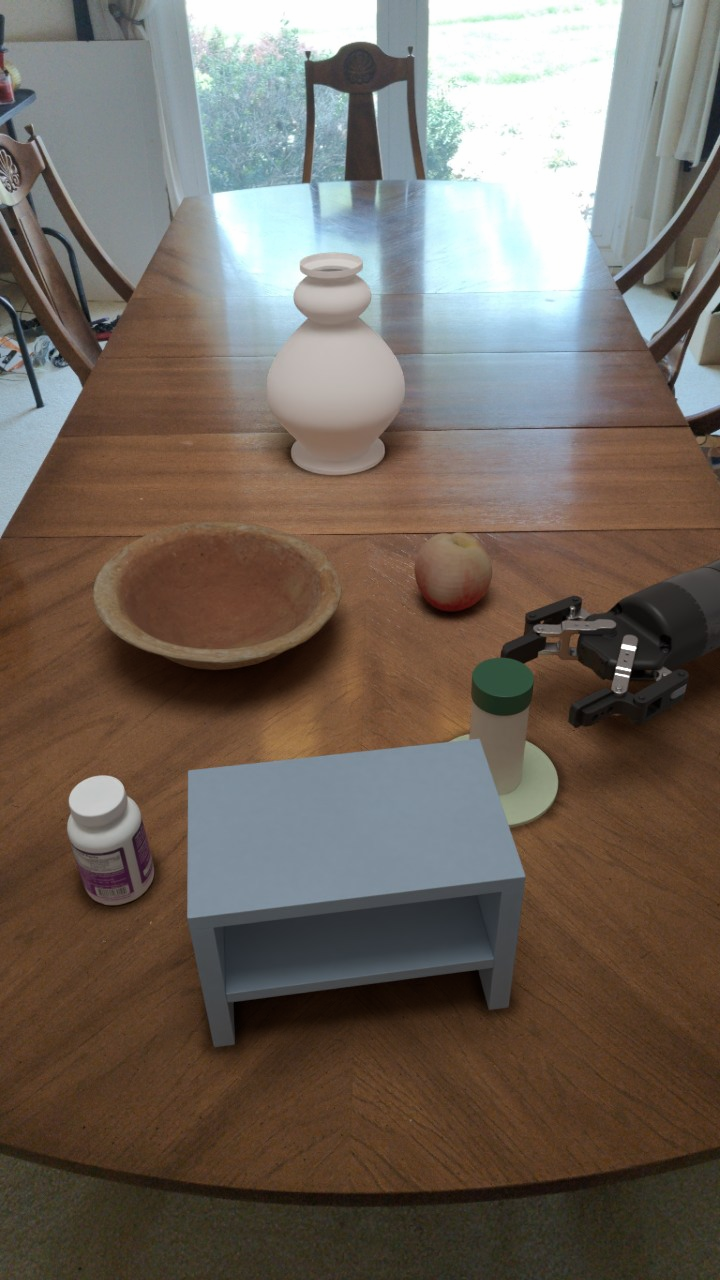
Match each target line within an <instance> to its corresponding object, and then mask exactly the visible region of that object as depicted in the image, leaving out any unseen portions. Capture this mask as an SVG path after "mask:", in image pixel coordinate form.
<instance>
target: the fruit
mask: <svg viewBox="0 0 720 1280" xmlns="http://www.w3.org/2000/svg"><path fill="white" fill-rule="evenodd" d="M414 562H415V563H414V577H415V582H416V584H417V588H418V589H419V592H420V593H421V595H422V597H424V599H425V600H426V601H427V602H428V603H429V604H430V605H431V606H432V607H434V608H435V609H437V610H439V611H443V612H448V613H449V612H451V613H452V612H460V611H462V610H466V609H469V608H470V607H473V606H474V605H476V604H477V603H478V602H479V601H480V600H482V598H484V597H485V595H486V593H487V592H488V590H489V588H490V586H491V583H492V580H493V579H492V578H493V564H492V560H491V558H490V556H489V554H488V552H487V551H486V550H485V548H484V546H483V544H482V543H481V542H480V541H479V540H478V539H477V538H476V537H475V536H473V535H471V534H469V533H467V532H462V531H458V532H454V533H451V534H449V533H446V532H444V533H442V532H441V533H438V534H436V535H433V536H432V537H430V538H429V539H428V540H427V541H426V542H424V543H423V545H422V547H421V548H420V549H419V551H418V553H417V555H416V558H415V561H414Z"/></svg>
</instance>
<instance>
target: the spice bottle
mask: <svg viewBox="0 0 720 1280" xmlns="http://www.w3.org/2000/svg"><path fill="white" fill-rule="evenodd" d="M471 673H472V674H471V686H470V688H471V690H470V696H471V697H470V698H471V705H470V706H471V707H470V719H469V721H470V722H469V733H468V734H469V740H472V739H480V741H481V744H482V747H483V750H484V753H485V756H486V759H487V762H488V765H489V768H490V771H491V774H492V777H493V780H494V783H495V786H496V789H497V792H498V795H504V794H507V793H510V792H512V791H514V790H515V789H516V788H517V787H518V786H519V784H520V782H521V776H522V768H523V759H524V751H525V742H526V741H527V732H528V724H529V715H530V708H531V707H530V706H531V703H532V701H533V692H534V683H535V676H534V674H533V671H532V670H531V669H530V667H528V665H526V664H525V663H524V664H523V663H521V662H519V661H516V660H513V659H509V658H500V657H493V658H488V659H485V660H483V661H481V662H479V663H478V664H477V665H476V666H475V667H474V669H473V671H472V672H471Z"/></svg>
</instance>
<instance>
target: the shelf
mask: <svg viewBox="0 0 720 1280" xmlns="http://www.w3.org/2000/svg"><path fill="white" fill-rule="evenodd" d="M186 858H187V862H186V864H187V865H186V866H187V868H186V869H187V873H186V874H187V875H186V876H187V877H186V878H187V881H186V885H187V886H186V888H187V889H186V891H187V892H186V898H187V899H186V908H187V909H186V919H187V924H188V929H189V934H190V939H191V943H192V947H193V952H194V957H195V963H196V967H197V972H198V977H199V982H200V987H201V992H202V996H203V1002H204V1006H205V1010H206V1015H207V1020H208V1025H209V1030H210V1035H211V1039H212V1045H213V1048H219V1047H220V1048H221V1047H226V1046H234V1045H235V1044H236V1033H235V1008H234V1007H235V1006H234V1003H235V1002H244V1001H250V1000H251V1001H252V1000H257V999H266V998H274V997H281V996H290V995H297V994H305V993H313V992H321V991H327V990H336V989H342V988H350V987H356V986H357V987H358V986H365V985H372V984H381V983H389V982H395V981H396V982H397V981H403V980H404V981H405V980H410V979H419V978H426V977H433V976H442V975H449V974H456V973H463V972H471V971H478V975H479V979H480V982H481V986H482V989H483V990H482V991H483V994H484V997H485V1001H486V1004H487V1008H488V1011H493V1010H500V1009H507V1008H509V1006H510V1000H511V992H512V984H513V977H514V976H513V975H514V968H515V961H516V954H517V948H518V947H517V946H518V937H519V930H520V925H521V924H520V923H521V916H522V909H523V900H524V894H525V886H526V879H527V875H526V873H525V870H524V867H523V863H522V862H521V858H520V855H519V851H518V849H517V846H516V843H515V840H514V836H513V834H512V830H511V828H509V825H508V822H507V819H506V816H505V813H504V810H503V807H502V804H501V801H500V798H499V795H498V792H497V789H496V786H495V783H494V780H493V777H492V774H491V771H490V768H489V765H488V762H487V759H486V756H485V753H484V750H483V747H482V744H481V741H480V739H472V740H463V741H453V742H449V741H446V742H437V743H435V742H434V743H427V744H418V745H409V746H399V747H391V748H381V749H373V750H363V751H354V752H345V753H335V754H327V755H317V756H309V757H307V756H306V757H299V758H288V759H280V760H272V761H271V760H270V761H263V762H252V763H243V764H233V765H225V766H217V767H216V766H215V767H207V768H197V769H189V770H187V857H186Z"/></svg>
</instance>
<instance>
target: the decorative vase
mask: <svg viewBox="0 0 720 1280" xmlns="http://www.w3.org/2000/svg"><path fill="white" fill-rule="evenodd" d="M363 268H364V262H363V259H362V257H360V256H358V255H355V254H353V253H348V252H335V251H334V252H321V253H315V254H311V255H307V256H305V257H303V258H301V259H300V260H299V271H300V272H301V273H302V274H303V275H305V277H304V278H303V279H302V280H301V281H299V283H298V284H297V285H296V287H295V289H294V291H293V296H292V297H293V299H292V300H293V303H294V306H295V307H296V309H297V310H298V311H299V312H300V313H301V315H303V316H304V317H306V319H305V320H304V321H303V322H302V323H301V324H300V326H298V327H297V328H296V330H295V331H294V332H293V333H292V334H291V335H290V336H289V338H287V340H286V341H285V342H284V343H283V345H282V346H281V347H280V349H279V350H278V352H277V354H276V356H275V357H274V359H273V361H272V363H271V365H270V367H269V370H268V374H267V378H266V385H265V387H266V389H265V393H266V400H267V404H268V407H269V409H270V411H271V413H272V415H273V416H274V418H275V419H276V421H278V423H279V424H280V425H281V426H282V427H283V429H285V430H286V431H287V433H288V434H289V435H291V436H292V437H293V438H294V439H295V442H293V444H292V446H291V449H290V456H291V459H292V461H293V463H294V464H295V465H297V466H298V467H300V468H301V469H303V470H306V471H308V472H310V473H315V474H319V475H325V476H326V475H327V476H343V475H352V474H356V473H357V474H358V473H361V472H364V471H367V470H370V469H371V468H373V467H375V466H377V465H378V464H380V462H381V461H382V460H383V459H384V457H385V453H386V450H385V449H386V448H385V444H384V442H383V441H382V440H381V438H380V437H381V435H382V434H383V433H384V432H385V431H386V430H387V428H388V427H389V426H390V425H391V424H392V423H393V421H395V419H396V417H397V416H398V414H399V413H400V412H401V409H402V407H403V403H404V401H405V397H406V383H405V377H404V372H403V369H402V366H401V364H400V362H399V360H398V359H397V357H396V355H395V354H394V352H393V351H392V349H391V348H390V346H388V344H387V343H386V342H385V340H384V339H383V338H382V337H381V336H380V335H379V334H378V333H377V332H376V331H375V330H374V329H373V328H372V327H371V326H370V325H368V323H366V322H365V321H364V320H363V318H361V317H360V316H361V315H362V314H363V313H364V312H366V310H367V309H368V308H369V306H370V304H371V301H372V290H371V288H370V287H369V285H368V283H367V281H365V280H364V279H363V278H362V277H361V276H359V275H358V274H359V273H361V272H362V271H363Z"/></svg>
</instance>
